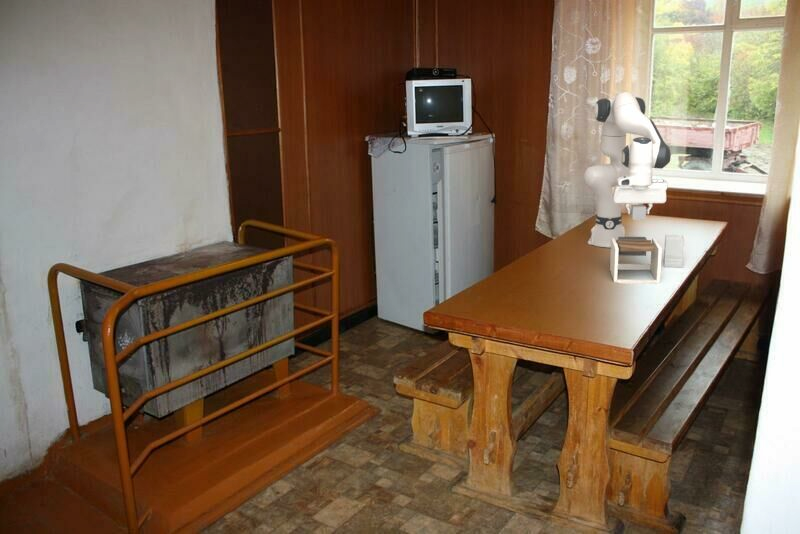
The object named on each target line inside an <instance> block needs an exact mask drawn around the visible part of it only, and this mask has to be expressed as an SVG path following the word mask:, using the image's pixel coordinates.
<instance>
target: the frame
mask: <svg viewBox="0 0 800 534" xmlns="http://www.w3.org/2000/svg"><path fill="white" fill-rule="evenodd" d="M651 243H652V245H653V247H654V248H655V251H650V263H625V262H624V263H619V255H618V251H619V249H618V246H617V244H616V241H615V239H614V238H611V247H610V253H609V255H610V259H609V271H611V272H610V274H611V277H612V280H613V281H612V282H613V283H617V284H638V285H641V284H642V285H644V284H648V285H657V284H661V283H660V282H661V270H662V269H661V268H662V255H663V248H662V247H661V245H660V243H659V242H658V241H657V239H656V238H655V237H652V238H651ZM621 270H625V271H629V270H631V271H633V270H634V271H635V270H636V271H649V272H651V275H652V276H653V279H618V273H619V272H618V271H621Z"/></svg>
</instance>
